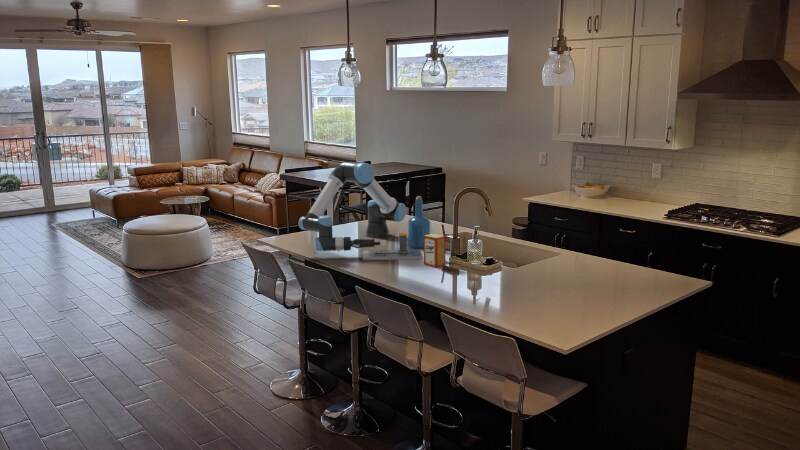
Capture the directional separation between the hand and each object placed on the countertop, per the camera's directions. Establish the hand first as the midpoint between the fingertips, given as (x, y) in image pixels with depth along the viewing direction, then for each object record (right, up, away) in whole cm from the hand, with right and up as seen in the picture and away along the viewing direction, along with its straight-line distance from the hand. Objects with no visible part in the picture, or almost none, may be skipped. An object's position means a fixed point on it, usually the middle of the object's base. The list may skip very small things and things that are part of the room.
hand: (386, 242), depth 354 cm
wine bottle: (+19, -3, +23) cm, 30 cm away
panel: (+3, -7, +2) cm, 8 cm away
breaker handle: (+10, -5, +1) cm, 11 cm away
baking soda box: (+26, -11, -18) cm, 34 cm away
